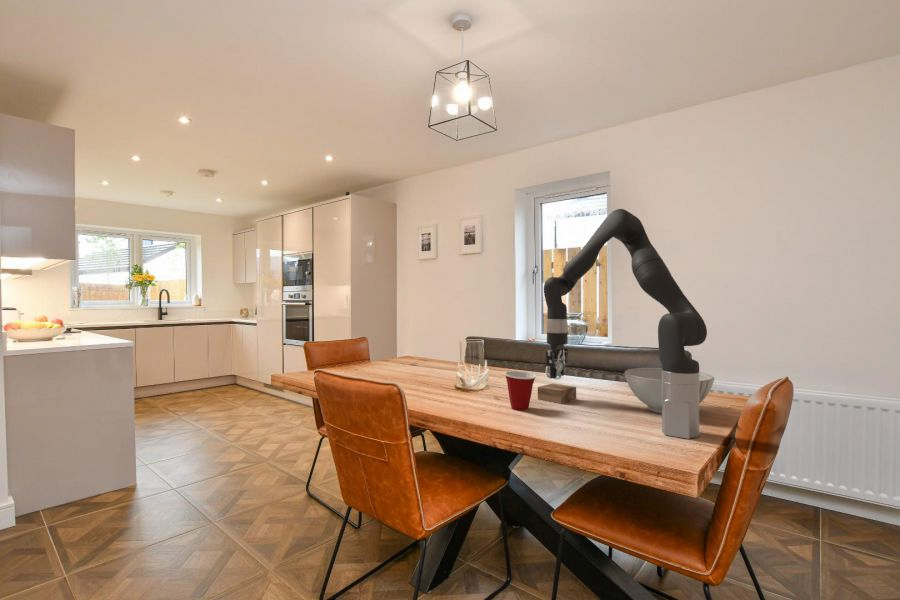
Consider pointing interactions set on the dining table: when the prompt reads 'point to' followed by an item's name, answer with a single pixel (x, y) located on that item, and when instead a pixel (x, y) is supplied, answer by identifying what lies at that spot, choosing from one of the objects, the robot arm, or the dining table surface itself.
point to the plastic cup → (519, 388)
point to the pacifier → (559, 369)
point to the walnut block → (557, 393)
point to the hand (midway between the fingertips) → (557, 376)
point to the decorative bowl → (659, 386)
